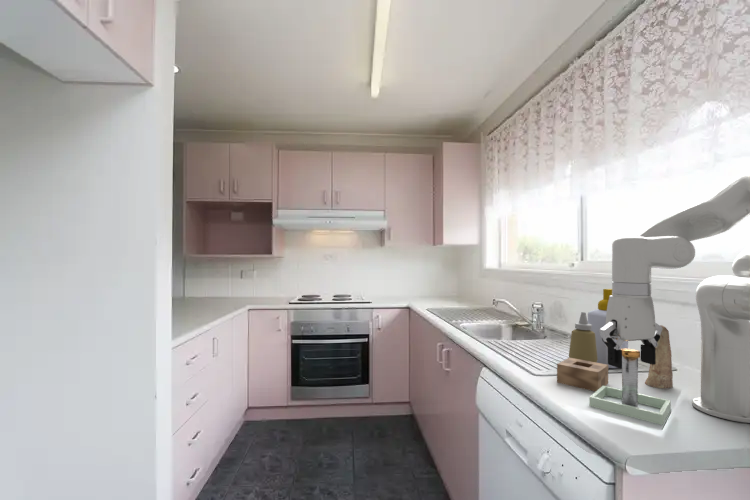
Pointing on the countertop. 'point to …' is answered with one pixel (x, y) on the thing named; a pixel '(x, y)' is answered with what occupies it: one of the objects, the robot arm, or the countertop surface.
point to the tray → (631, 411)
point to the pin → (630, 377)
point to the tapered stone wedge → (661, 364)
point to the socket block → (582, 374)
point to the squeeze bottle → (583, 341)
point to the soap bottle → (598, 321)
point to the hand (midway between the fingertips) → (631, 364)
